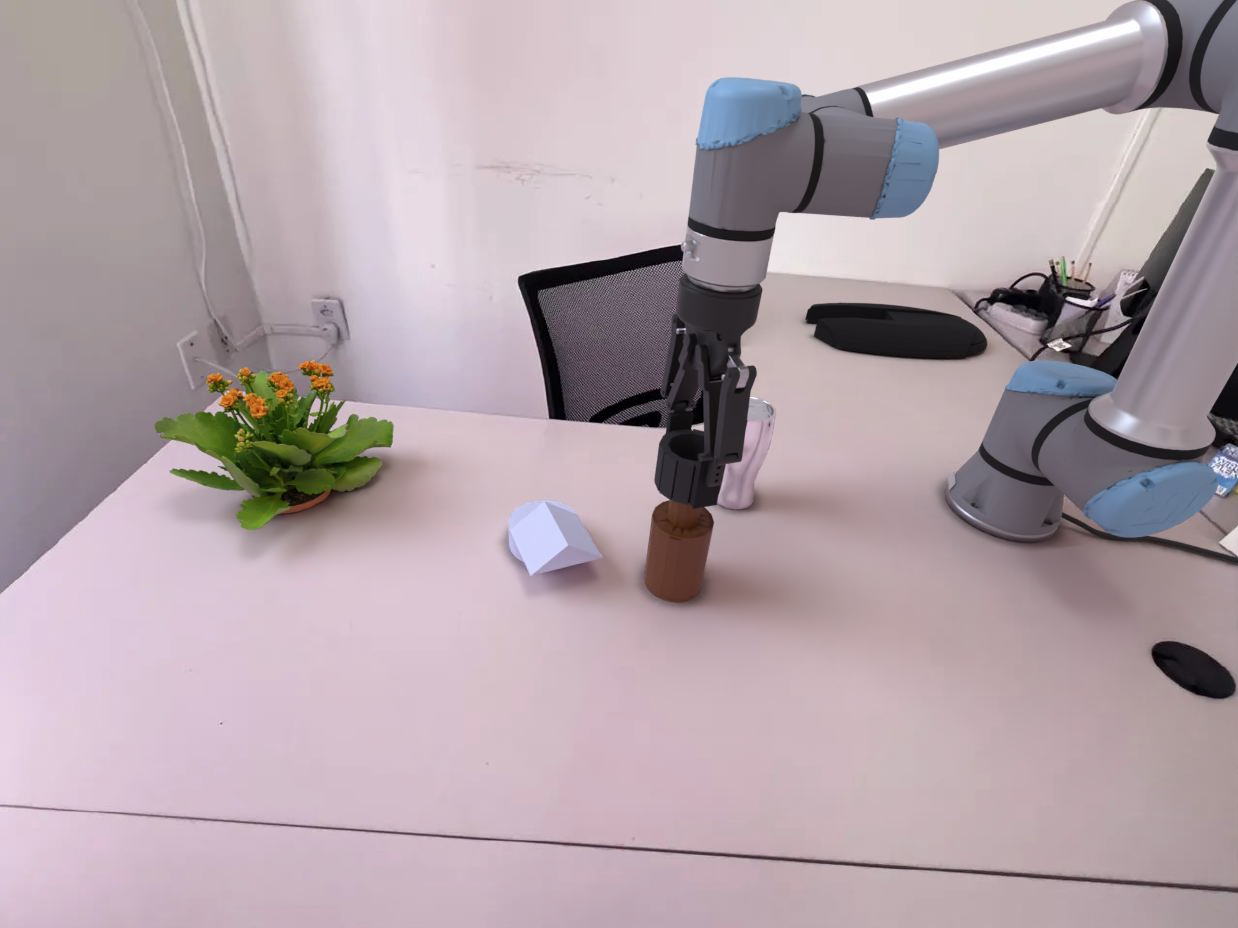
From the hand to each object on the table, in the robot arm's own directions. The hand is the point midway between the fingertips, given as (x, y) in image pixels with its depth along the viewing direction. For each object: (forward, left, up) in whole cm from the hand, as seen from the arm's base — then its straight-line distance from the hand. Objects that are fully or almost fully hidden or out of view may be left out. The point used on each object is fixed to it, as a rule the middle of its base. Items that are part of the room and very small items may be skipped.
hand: (688, 482), depth 71 cm
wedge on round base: (+16, +1, -15) cm, 22 cm away
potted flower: (+53, +4, -15) cm, 55 cm away
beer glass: (-4, -20, -15) cm, 26 cm away
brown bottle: (0, 0, -15) cm, 15 cm away
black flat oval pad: (-29, -97, -15) cm, 102 cm away
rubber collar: (0, 0, 0) cm, 0 cm away
